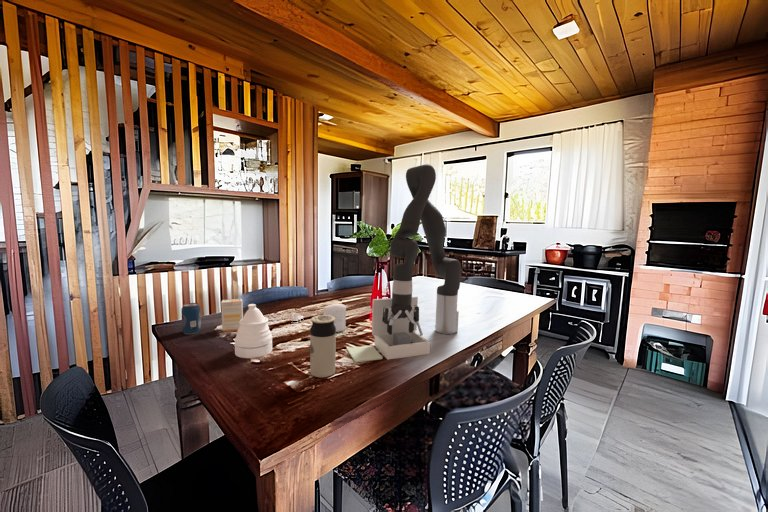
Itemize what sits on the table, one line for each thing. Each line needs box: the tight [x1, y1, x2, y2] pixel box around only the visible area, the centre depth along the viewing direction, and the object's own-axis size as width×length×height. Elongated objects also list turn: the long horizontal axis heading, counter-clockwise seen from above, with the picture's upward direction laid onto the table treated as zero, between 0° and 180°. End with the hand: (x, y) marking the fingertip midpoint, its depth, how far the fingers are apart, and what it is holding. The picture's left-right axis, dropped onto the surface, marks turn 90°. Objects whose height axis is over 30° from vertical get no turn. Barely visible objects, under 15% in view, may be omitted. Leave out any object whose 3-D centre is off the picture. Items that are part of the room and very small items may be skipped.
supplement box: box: [220, 298, 244, 332], centre depth 144 cm, size 8×5×13 cm, turn 108°
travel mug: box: [309, 314, 337, 378], centre depth 105 cm, size 8×8×18 cm
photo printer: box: [322, 303, 347, 333], centre depth 145 cm, size 10×4×12 cm, turn 123°
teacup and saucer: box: [290, 312, 304, 322], centre depth 159 cm, size 9×8×4 cm
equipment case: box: [371, 296, 431, 360], centre depth 126 cm, size 19×14×18 cm
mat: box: [346, 345, 383, 363], centre depth 122 cm, size 10×12×1 cm
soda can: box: [181, 302, 202, 335], centre depth 140 cm, size 7×7×12 cm
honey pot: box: [234, 303, 273, 359], centre depth 121 cm, size 13×13×18 cm
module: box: [392, 332, 411, 346], centre depth 127 cm, size 5×5×6 cm
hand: (400, 333), depth 126 cm, fingers open, 8 cm apart
